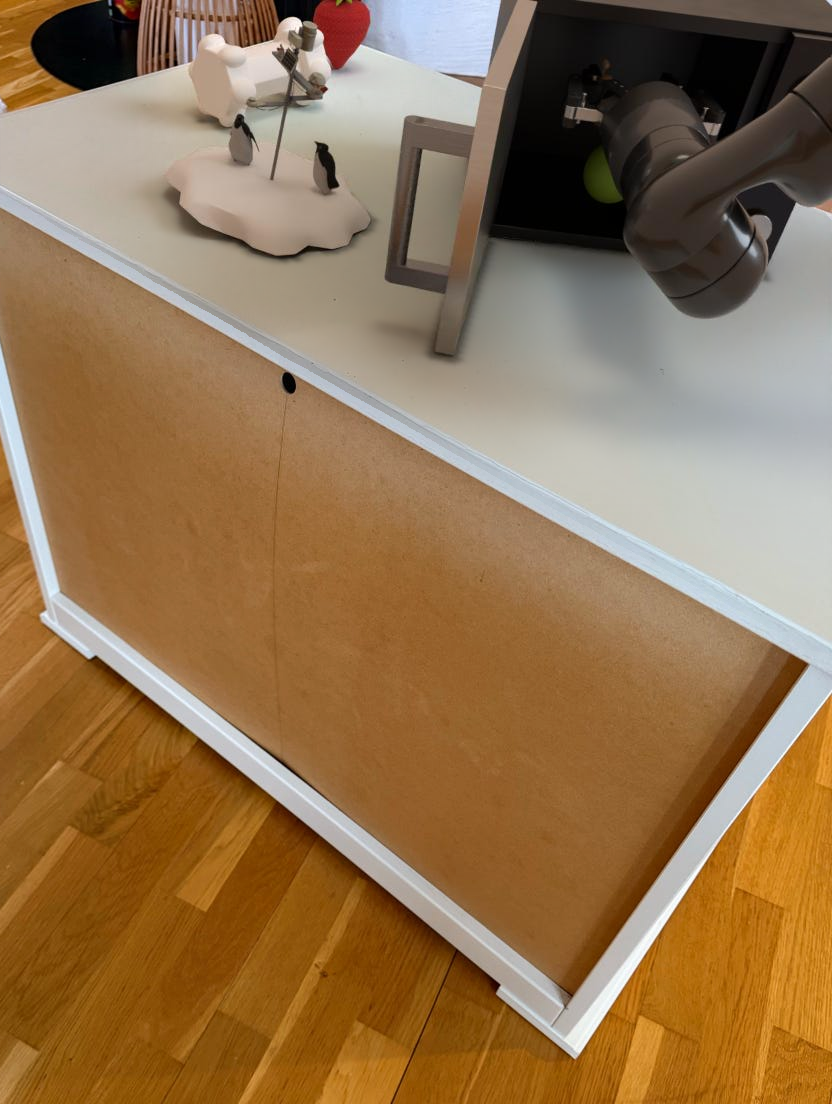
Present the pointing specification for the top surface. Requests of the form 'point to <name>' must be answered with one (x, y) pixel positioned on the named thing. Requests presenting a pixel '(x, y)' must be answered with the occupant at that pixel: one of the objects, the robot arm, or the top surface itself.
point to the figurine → (271, 179)
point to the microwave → (636, 58)
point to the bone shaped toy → (249, 72)
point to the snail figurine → (600, 169)
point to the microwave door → (480, 186)
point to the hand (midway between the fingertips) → (626, 80)
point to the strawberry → (342, 28)
